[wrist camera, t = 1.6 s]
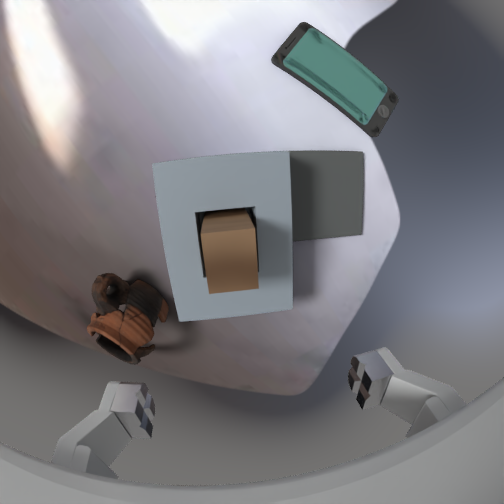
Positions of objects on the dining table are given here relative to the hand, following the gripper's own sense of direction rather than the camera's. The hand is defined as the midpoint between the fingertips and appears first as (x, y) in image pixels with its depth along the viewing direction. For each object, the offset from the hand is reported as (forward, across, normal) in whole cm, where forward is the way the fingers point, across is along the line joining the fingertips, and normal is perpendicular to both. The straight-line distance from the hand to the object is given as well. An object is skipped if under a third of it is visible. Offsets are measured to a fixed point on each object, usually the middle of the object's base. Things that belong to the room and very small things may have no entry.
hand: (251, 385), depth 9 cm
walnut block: (+21, 0, 0) cm, 21 cm away
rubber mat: (+22, -11, -3) cm, 25 cm away
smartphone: (+22, -14, -17) cm, 31 cm away
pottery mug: (+22, +13, +8) cm, 27 cm away
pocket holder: (+22, 0, 0) cm, 22 cm away
